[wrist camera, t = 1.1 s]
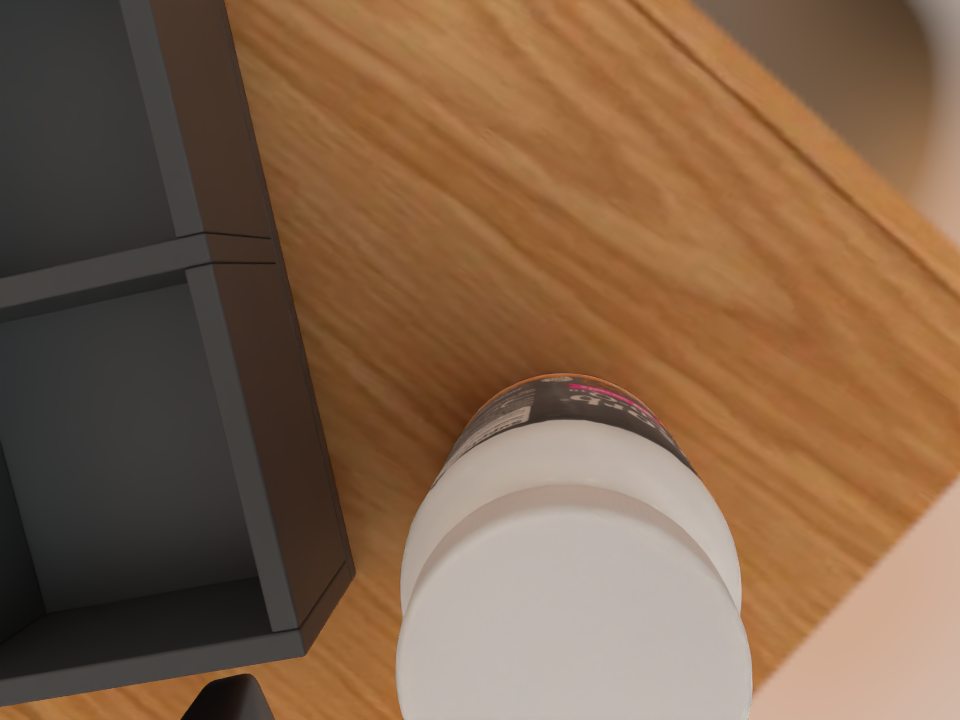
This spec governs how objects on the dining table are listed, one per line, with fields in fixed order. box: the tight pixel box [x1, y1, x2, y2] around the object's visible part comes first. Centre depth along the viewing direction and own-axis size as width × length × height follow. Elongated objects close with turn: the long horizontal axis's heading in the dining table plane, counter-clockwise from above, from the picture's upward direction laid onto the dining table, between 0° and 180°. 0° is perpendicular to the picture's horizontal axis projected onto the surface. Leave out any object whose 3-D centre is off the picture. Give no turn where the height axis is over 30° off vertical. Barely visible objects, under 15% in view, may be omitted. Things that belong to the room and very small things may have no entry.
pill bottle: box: [396, 373, 753, 720], centre depth 16 cm, size 6×6×10 cm
